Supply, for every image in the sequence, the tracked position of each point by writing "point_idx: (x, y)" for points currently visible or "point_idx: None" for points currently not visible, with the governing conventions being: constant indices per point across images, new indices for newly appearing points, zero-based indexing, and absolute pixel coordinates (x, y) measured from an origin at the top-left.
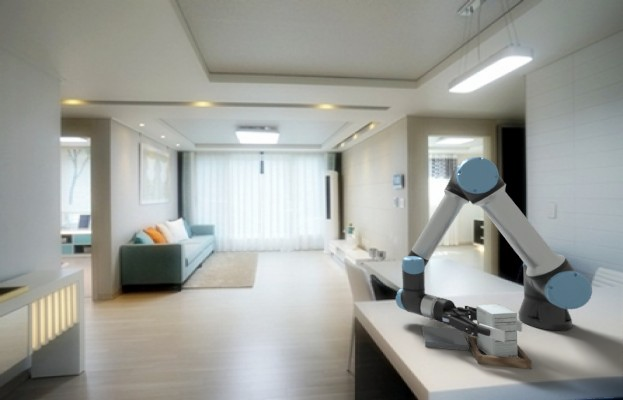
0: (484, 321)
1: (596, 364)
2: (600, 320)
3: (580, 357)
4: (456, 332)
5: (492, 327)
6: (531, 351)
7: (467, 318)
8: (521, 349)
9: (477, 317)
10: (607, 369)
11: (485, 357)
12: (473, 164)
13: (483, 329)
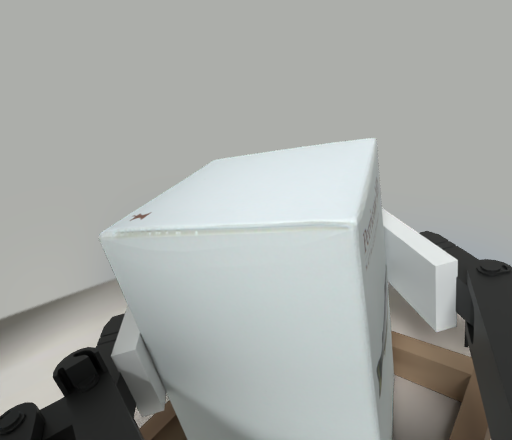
0: (383, 259)
1: (101, 302)
2: None
3: (74, 331)
4: None
5: (386, 223)
6: None
7: (509, 390)
8: None
9: (371, 339)
10: (117, 285)
11: (456, 356)
12: None
13: (449, 243)
